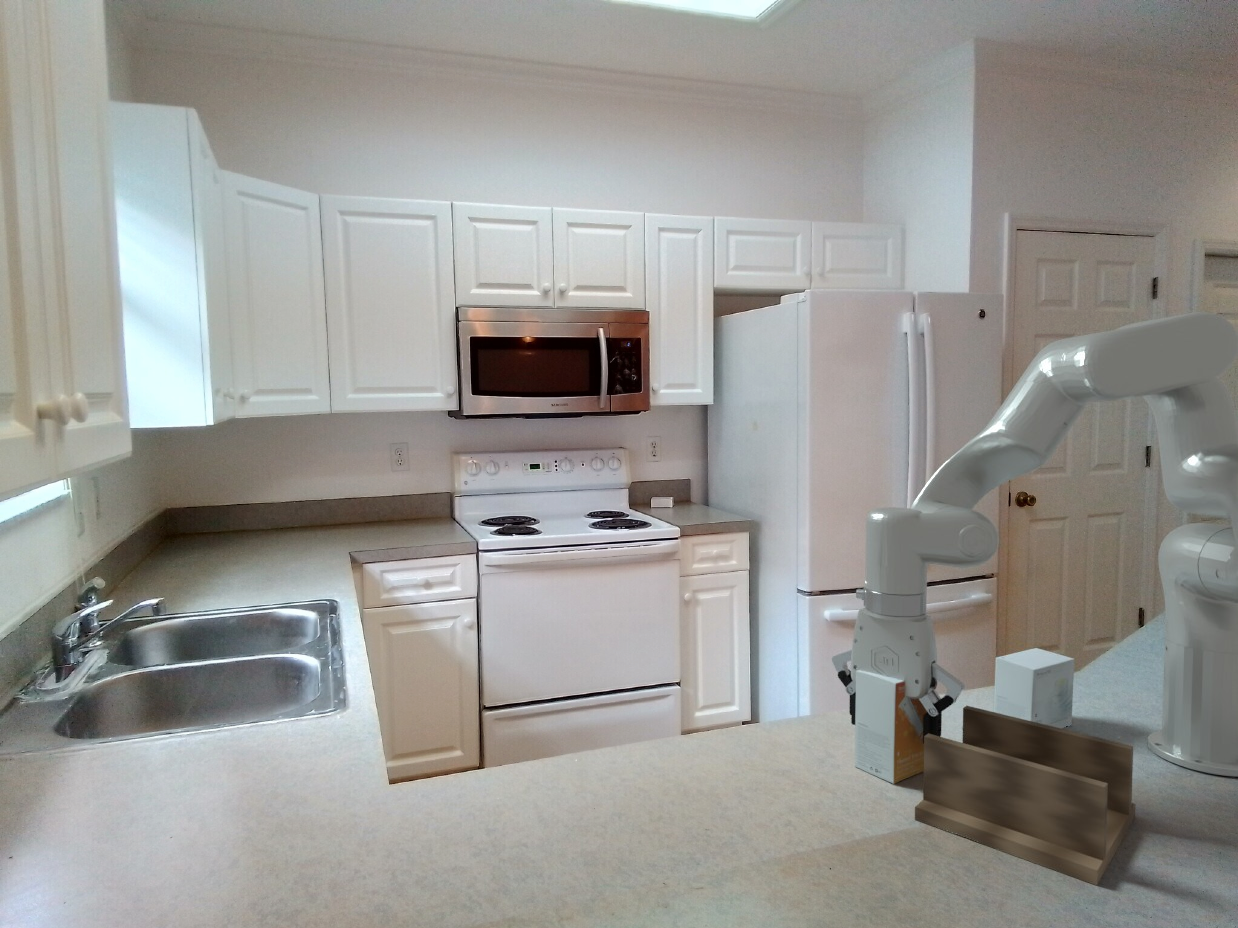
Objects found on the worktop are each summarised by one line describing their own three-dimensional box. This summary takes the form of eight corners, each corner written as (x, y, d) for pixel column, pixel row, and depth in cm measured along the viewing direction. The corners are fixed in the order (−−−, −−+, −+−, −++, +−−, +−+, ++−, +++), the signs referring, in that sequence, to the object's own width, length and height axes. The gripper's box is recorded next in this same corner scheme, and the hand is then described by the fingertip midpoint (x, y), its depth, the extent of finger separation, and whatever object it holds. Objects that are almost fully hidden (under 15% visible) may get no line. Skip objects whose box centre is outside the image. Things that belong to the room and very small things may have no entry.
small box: (894, 785, 95) (895, 683, 94) (853, 766, 100) (854, 669, 99) (933, 769, 99) (935, 671, 99) (892, 751, 105) (893, 658, 104)
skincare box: (1033, 740, 108) (1034, 668, 108) (991, 725, 114) (992, 656, 113) (1074, 726, 113) (1076, 656, 113) (1032, 712, 119) (1034, 646, 118)
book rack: (914, 819, 87) (915, 742, 86) (971, 768, 99) (973, 700, 99) (1096, 885, 74) (1099, 795, 74) (1135, 816, 87) (1137, 739, 86)
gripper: (820, 597, 102) (819, 722, 103) (952, 620, 90) (950, 761, 91) (847, 588, 107) (846, 707, 108) (975, 608, 95) (972, 742, 96)
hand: (893, 731), depth 99 cm, fingers open, 9 cm apart
